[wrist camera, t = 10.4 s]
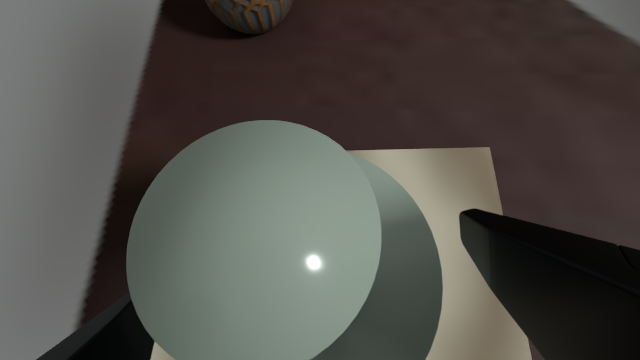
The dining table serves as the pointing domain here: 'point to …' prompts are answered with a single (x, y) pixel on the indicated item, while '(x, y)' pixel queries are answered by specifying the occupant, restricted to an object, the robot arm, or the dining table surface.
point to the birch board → (452, 249)
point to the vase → (250, 14)
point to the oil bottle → (282, 253)
